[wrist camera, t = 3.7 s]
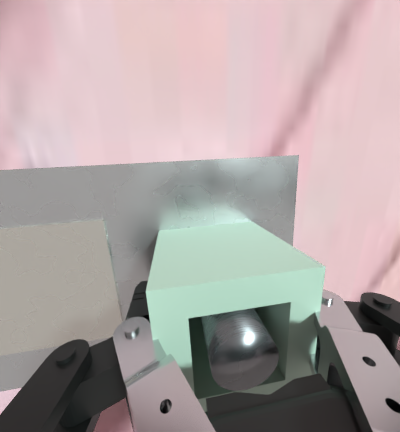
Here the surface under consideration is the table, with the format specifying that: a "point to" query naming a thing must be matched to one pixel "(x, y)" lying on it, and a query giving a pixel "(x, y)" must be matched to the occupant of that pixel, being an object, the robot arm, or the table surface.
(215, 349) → the stand
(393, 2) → the table surface
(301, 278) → the mint square sleeve
